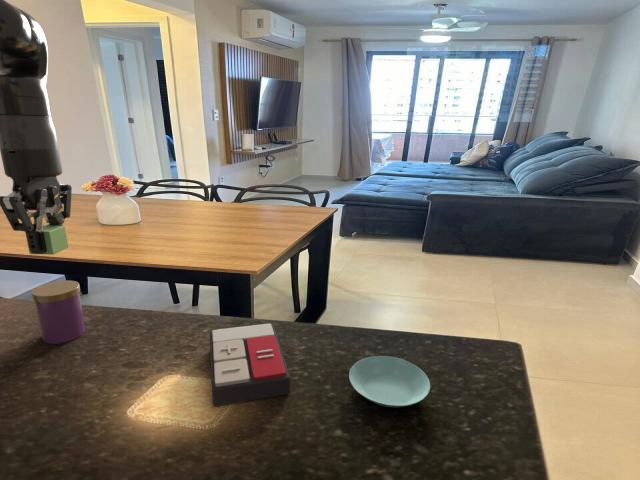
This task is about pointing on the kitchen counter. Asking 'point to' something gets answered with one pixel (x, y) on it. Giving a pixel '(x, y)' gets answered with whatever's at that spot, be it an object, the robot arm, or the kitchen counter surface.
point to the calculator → (247, 364)
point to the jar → (59, 311)
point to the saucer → (389, 381)
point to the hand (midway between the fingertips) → (48, 248)
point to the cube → (54, 239)
